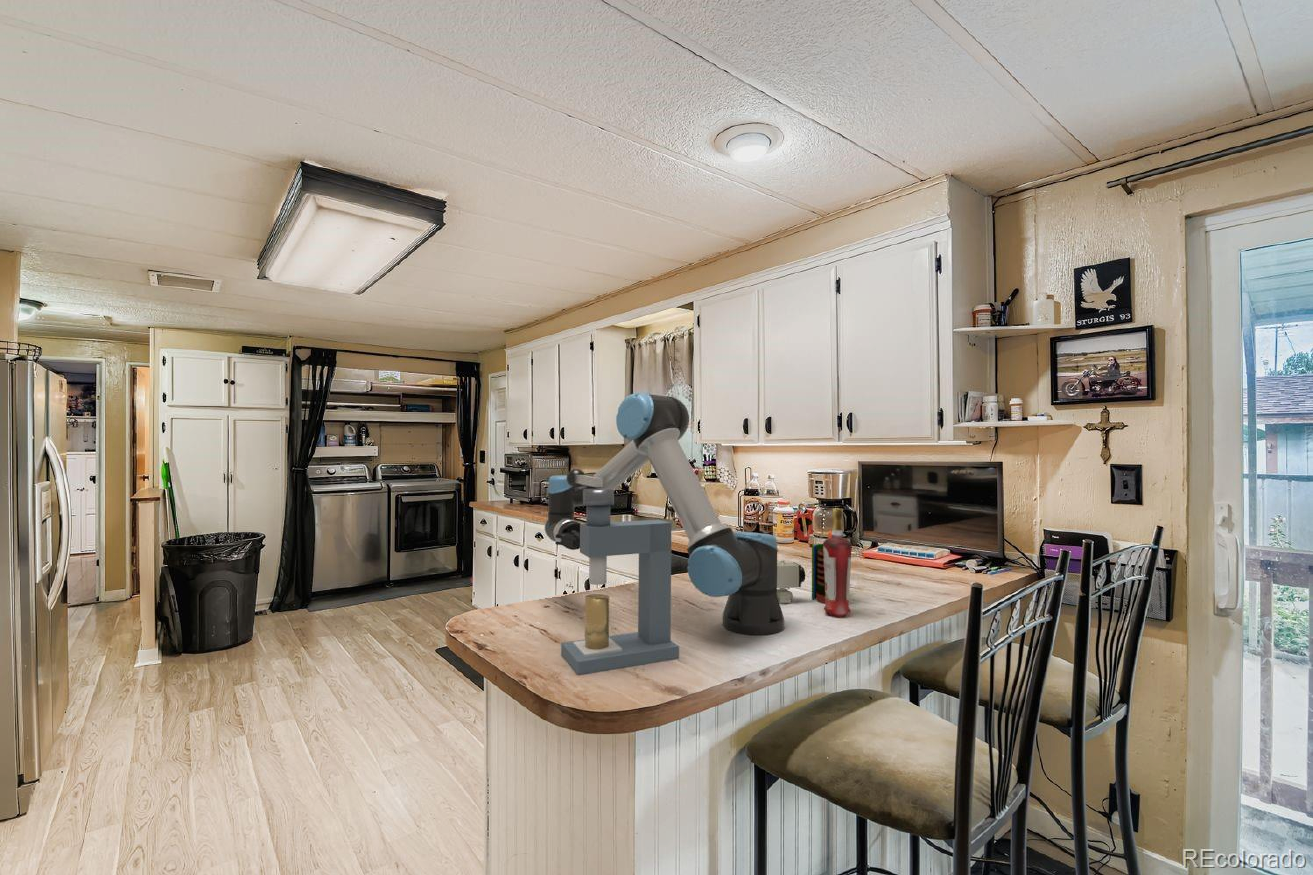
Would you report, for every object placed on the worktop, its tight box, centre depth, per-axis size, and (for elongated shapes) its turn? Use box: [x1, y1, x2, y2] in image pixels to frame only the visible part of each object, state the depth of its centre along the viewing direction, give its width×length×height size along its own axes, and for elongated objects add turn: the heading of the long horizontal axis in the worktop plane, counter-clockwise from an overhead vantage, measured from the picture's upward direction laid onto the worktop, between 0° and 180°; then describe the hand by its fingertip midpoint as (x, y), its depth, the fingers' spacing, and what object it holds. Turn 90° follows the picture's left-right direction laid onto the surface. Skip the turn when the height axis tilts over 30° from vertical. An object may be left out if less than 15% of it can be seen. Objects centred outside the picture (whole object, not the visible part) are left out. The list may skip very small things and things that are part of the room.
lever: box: [567, 468, 615, 506], centre depth 128 cm, size 6×21×7 cm, turn 25°
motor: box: [811, 529, 832, 605], centre depth 169 cm, size 10×9×20 cm
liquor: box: [822, 508, 853, 618], centre depth 155 cm, size 7×7×28 cm
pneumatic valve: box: [777, 559, 806, 605], centre depth 167 cm, size 6×12×12 cm, turn 100°
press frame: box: [560, 505, 680, 676], centre depth 123 cm, size 22×12×32 cm, turn 115°
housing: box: [584, 593, 610, 650], centre depth 121 cm, size 5×5×10 cm
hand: (599, 547), depth 139 cm, fingers closed
